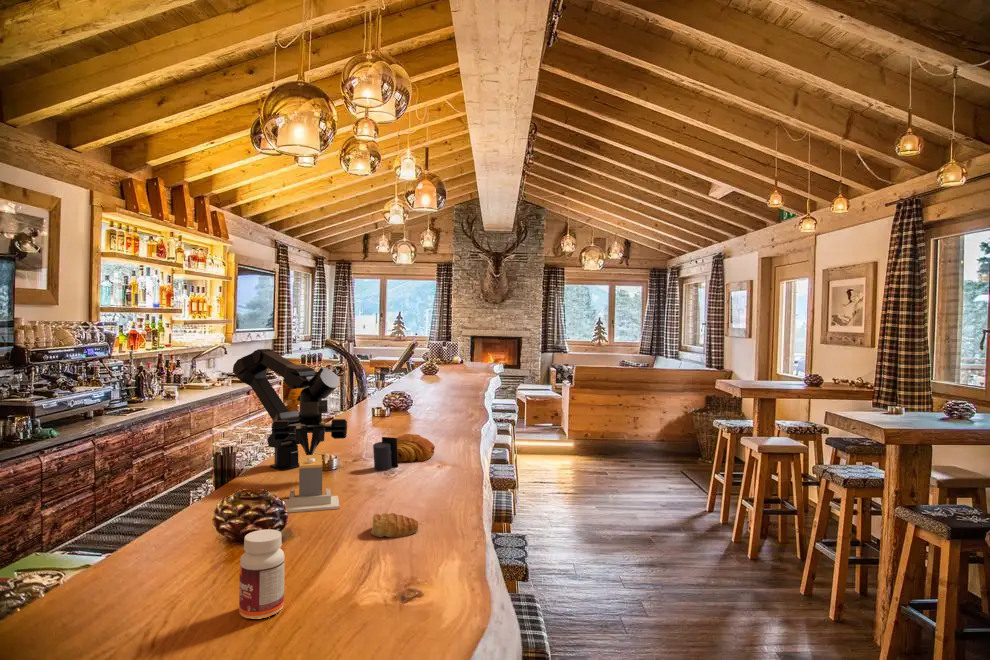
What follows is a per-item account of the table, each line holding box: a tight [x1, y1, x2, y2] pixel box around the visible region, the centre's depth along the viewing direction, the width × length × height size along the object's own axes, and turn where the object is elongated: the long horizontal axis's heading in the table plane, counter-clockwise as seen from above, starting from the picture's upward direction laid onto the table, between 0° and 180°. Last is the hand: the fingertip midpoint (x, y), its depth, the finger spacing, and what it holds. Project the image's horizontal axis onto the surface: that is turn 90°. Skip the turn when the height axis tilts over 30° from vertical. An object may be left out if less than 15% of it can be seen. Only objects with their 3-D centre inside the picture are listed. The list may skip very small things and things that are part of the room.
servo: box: [298, 454, 323, 497], centre depth 139 cm, size 10×5×10 cm, turn 18°
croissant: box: [396, 433, 436, 463], centre depth 183 cm, size 14×16×8 cm
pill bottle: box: [238, 528, 286, 618], centre depth 87 cm, size 6×6×11 cm
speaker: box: [372, 436, 399, 472], centre depth 169 cm, size 6×5×9 cm
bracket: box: [282, 487, 340, 514], centre depth 135 cm, size 8×13×2 cm, turn 107°
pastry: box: [370, 512, 419, 538], centre depth 120 cm, size 9×7×4 cm
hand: (309, 457), depth 150 cm, fingers closed
